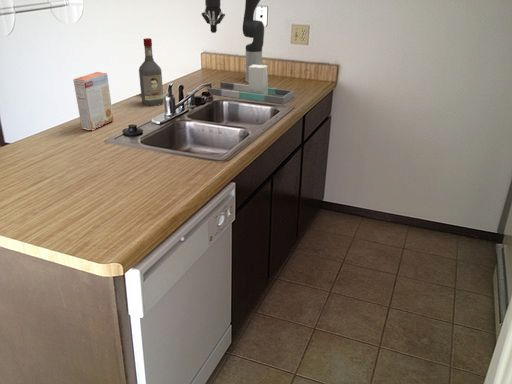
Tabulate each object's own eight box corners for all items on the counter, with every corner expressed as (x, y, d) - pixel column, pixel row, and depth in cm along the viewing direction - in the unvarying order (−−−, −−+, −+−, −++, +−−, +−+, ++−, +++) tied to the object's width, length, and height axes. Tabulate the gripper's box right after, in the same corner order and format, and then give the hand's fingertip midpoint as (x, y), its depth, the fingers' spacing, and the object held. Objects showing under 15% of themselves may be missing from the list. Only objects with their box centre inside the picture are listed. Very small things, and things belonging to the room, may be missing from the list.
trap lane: (221, 87, 259) (221, 81, 257) (294, 96, 244) (294, 90, 242) (207, 93, 246) (207, 88, 245) (283, 104, 231) (283, 98, 230)
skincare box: (268, 96, 244) (268, 65, 237) (262, 99, 239) (263, 67, 232) (253, 94, 247) (253, 63, 240) (247, 97, 242) (248, 66, 235)
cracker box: (102, 120, 205) (96, 71, 196) (114, 121, 203) (108, 72, 194) (80, 129, 193) (72, 78, 184) (92, 131, 191) (84, 79, 182)
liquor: (140, 102, 230) (134, 38, 217) (158, 99, 235) (153, 36, 221) (146, 107, 223) (140, 41, 210) (165, 104, 228) (160, 39, 214)
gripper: (228, -4, 236) (228, 32, 244) (204, -5, 241) (206, 30, 249) (221, -3, 230) (221, 34, 238) (197, -4, 235) (198, 32, 243)
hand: (213, 32), depth 243 cm, fingers closed
